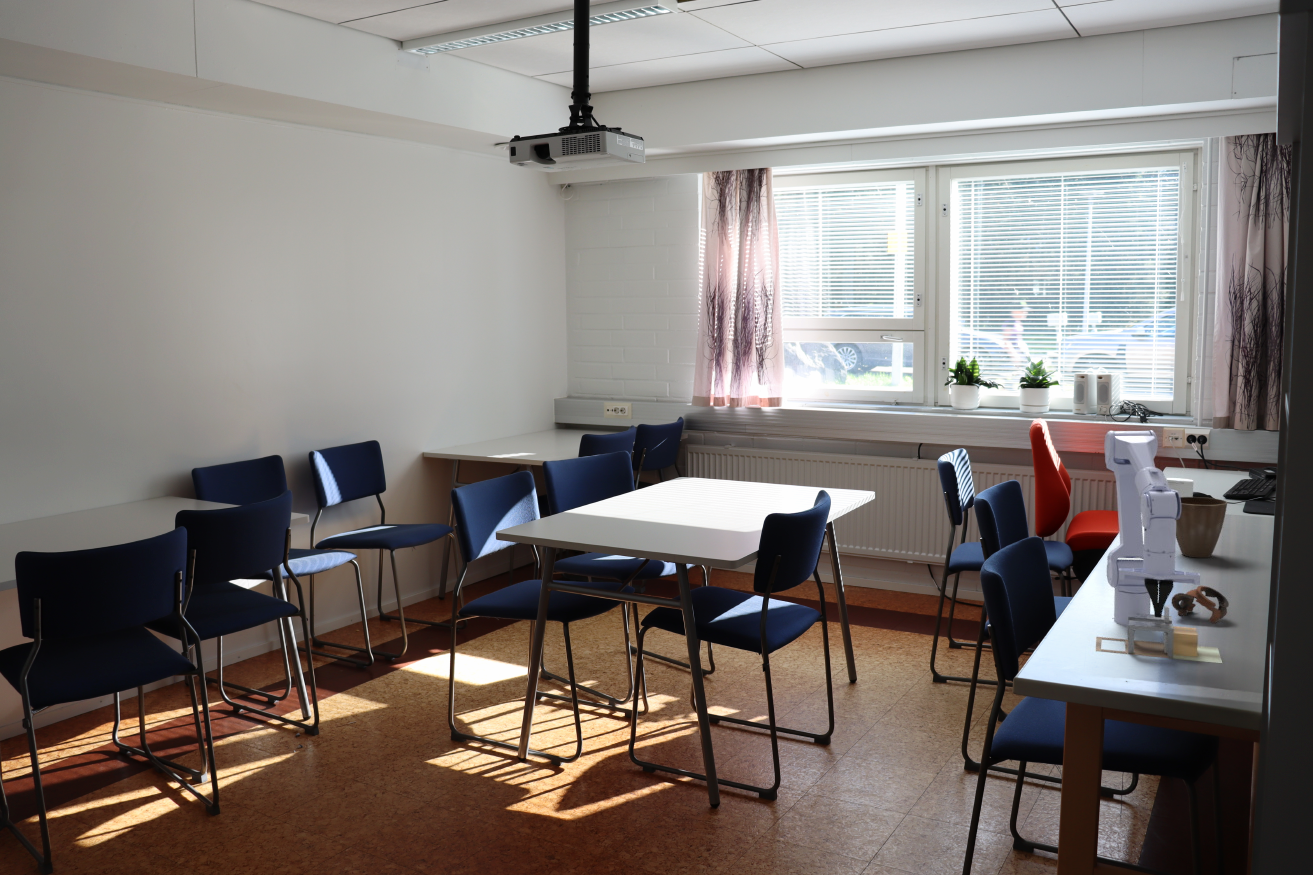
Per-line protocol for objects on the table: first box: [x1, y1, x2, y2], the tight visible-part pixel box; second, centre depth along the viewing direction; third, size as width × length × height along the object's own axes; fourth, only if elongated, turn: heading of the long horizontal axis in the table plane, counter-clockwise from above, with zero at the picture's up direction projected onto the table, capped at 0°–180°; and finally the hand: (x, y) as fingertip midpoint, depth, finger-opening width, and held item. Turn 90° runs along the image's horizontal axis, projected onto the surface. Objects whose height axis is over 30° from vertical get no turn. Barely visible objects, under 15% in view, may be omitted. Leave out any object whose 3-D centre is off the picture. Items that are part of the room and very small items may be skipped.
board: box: [1095, 636, 1223, 664], centre depth 201 cm, size 10×22×2 cm, turn 65°
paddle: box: [1162, 605, 1170, 653], centre depth 200 cm, size 6×1×9 cm, turn 155°
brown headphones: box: [1171, 585, 1230, 624], centre depth 226 cm, size 12×10×8 cm
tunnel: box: [1127, 613, 1174, 659], centre depth 201 cm, size 9×8×6 cm
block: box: [1173, 625, 1199, 657], centre depth 199 cm, size 5×5×4 cm
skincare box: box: [1166, 477, 1194, 497], centre depth 332 cm, size 8×6×15 cm
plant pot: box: [1175, 496, 1228, 559], centre depth 285 cm, size 15×15×16 cm
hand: (1157, 616), depth 200 cm, fingers closed
